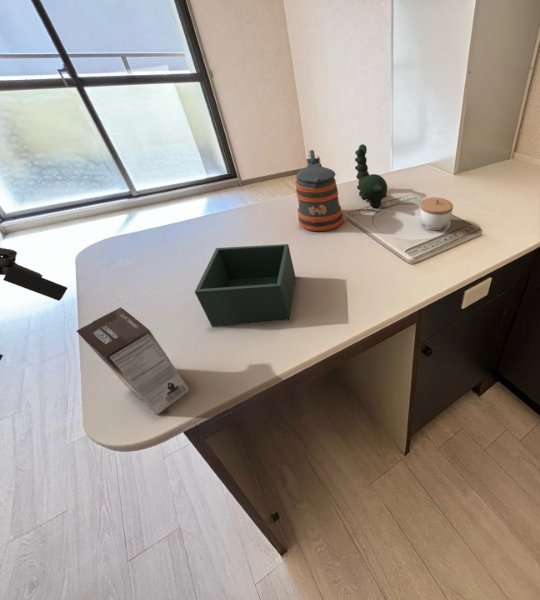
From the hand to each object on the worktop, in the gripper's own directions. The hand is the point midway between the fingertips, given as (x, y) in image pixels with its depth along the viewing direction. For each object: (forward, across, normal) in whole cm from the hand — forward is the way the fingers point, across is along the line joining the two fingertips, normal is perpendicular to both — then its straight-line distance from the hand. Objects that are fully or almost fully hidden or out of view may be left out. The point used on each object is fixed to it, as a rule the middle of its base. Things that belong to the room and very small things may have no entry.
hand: (34, 325), depth 46 cm
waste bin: (+28, -24, +3) cm, 37 cm away
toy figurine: (+52, -79, +26) cm, 98 cm away
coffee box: (+19, 0, -6) cm, 20 cm away
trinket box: (+65, -56, +40) cm, 95 cm away
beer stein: (+39, -65, +12) cm, 76 cm away
